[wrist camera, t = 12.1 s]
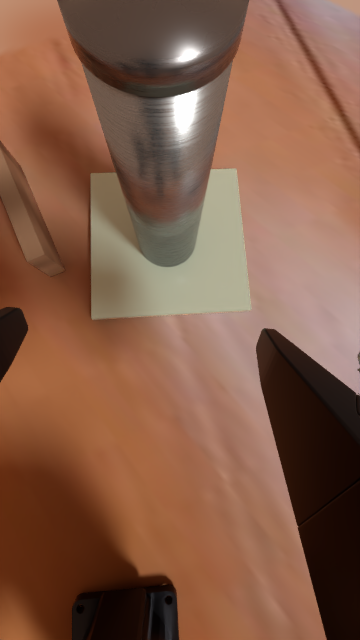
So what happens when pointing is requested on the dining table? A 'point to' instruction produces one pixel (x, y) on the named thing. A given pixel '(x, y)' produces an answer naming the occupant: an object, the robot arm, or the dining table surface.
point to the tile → (167, 282)
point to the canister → (159, 104)
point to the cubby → (26, 216)
